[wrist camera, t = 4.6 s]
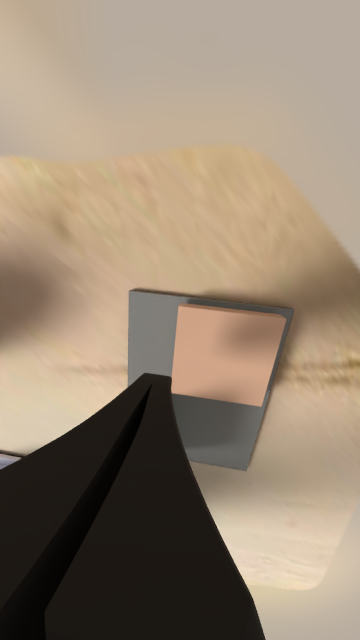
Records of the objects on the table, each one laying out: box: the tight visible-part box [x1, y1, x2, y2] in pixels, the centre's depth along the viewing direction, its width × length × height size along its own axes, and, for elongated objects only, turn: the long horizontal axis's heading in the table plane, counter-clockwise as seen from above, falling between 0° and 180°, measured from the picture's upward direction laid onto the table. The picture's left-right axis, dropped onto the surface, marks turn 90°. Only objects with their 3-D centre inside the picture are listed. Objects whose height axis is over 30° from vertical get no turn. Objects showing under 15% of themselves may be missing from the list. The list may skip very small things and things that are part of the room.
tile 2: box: [171, 303, 286, 407], centre depth 13 cm, size 1×6×6 cm
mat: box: [128, 290, 294, 471], centre depth 15 cm, size 11×15×1 cm
